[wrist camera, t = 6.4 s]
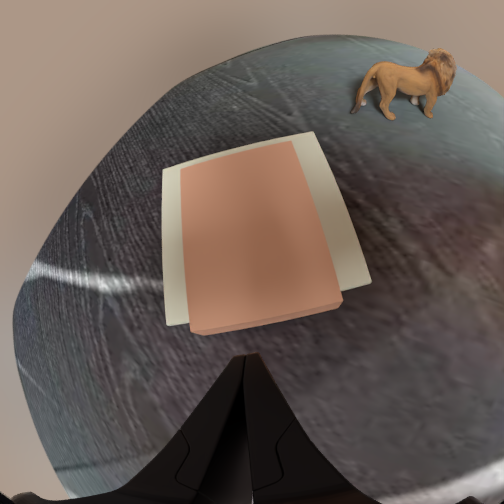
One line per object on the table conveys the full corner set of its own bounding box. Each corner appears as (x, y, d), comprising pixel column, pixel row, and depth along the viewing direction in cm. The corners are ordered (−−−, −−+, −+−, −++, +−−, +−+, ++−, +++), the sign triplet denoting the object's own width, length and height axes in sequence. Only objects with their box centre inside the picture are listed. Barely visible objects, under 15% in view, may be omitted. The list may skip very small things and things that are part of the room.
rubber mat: (370, 283, 19) (371, 281, 19) (169, 325, 21) (166, 325, 20) (313, 134, 26) (313, 131, 25) (164, 172, 27) (162, 169, 27)
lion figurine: (427, 92, 26) (439, 41, 18) (451, 117, 24) (470, 64, 16) (340, 104, 27) (342, 38, 19) (363, 132, 25) (373, 61, 17)
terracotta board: (343, 300, 16) (291, 140, 22) (190, 331, 17) (180, 169, 23) (338, 307, 18) (292, 159, 24) (203, 335, 19) (190, 184, 25)
